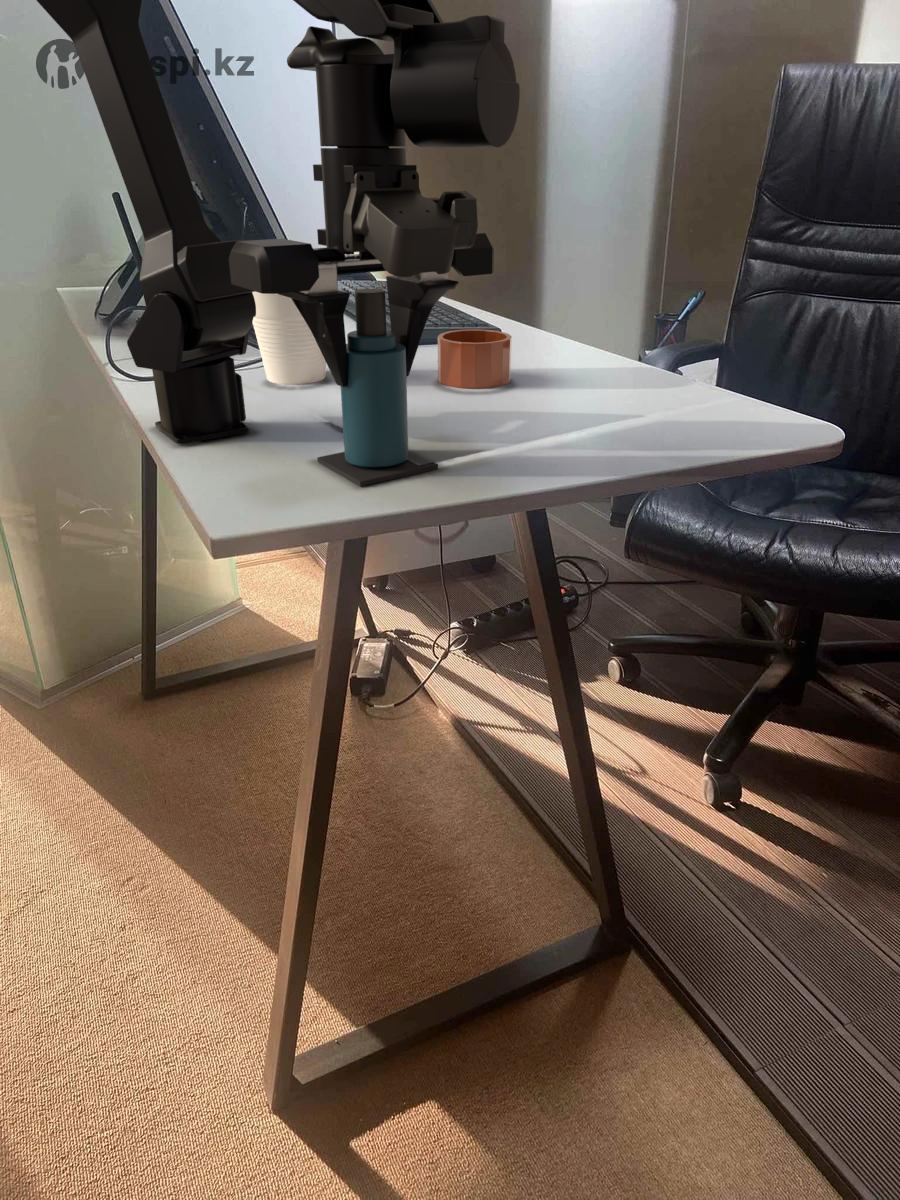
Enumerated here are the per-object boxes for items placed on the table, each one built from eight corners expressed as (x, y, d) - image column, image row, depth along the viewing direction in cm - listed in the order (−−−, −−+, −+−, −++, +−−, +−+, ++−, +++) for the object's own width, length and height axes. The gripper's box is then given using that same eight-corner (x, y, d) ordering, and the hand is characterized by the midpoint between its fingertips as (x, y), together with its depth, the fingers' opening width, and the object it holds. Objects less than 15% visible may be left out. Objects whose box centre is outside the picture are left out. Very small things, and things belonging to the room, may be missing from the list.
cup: (295, 398, 86) (285, 282, 81) (230, 383, 92) (217, 274, 86) (361, 379, 93) (356, 272, 88) (297, 367, 99) (289, 265, 93)
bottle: (364, 472, 64) (356, 298, 59) (333, 454, 68) (322, 289, 62) (420, 459, 67) (417, 292, 61) (387, 443, 71) (382, 284, 65)
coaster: (360, 486, 64) (360, 481, 63) (317, 461, 69) (316, 457, 68) (438, 468, 67) (438, 464, 67) (391, 446, 72) (391, 442, 72)
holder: (466, 397, 87) (466, 346, 84) (424, 382, 92) (424, 334, 90) (524, 386, 90) (526, 337, 88) (481, 372, 96) (482, 326, 94)
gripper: (287, 147, 47) (309, 426, 54) (547, 148, 56) (536, 385, 64) (212, 147, 55) (240, 390, 62) (451, 148, 64) (450, 358, 72)
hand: (372, 380), depth 65 cm, fingers closed on bottle, 5 cm apart
